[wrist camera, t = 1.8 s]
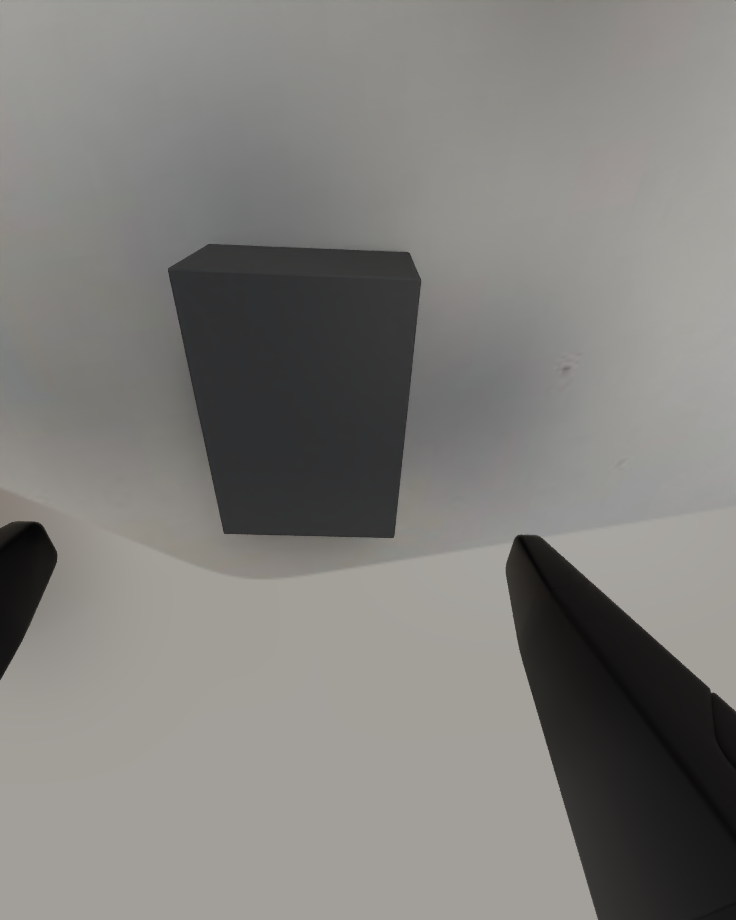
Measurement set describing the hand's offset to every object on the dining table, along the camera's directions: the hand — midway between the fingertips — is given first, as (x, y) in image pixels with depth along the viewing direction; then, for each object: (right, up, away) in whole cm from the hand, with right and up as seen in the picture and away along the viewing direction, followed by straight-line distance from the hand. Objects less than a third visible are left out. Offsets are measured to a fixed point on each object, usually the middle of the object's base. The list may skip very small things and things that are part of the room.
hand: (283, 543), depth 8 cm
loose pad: (0, +4, +6) cm, 7 cm away
